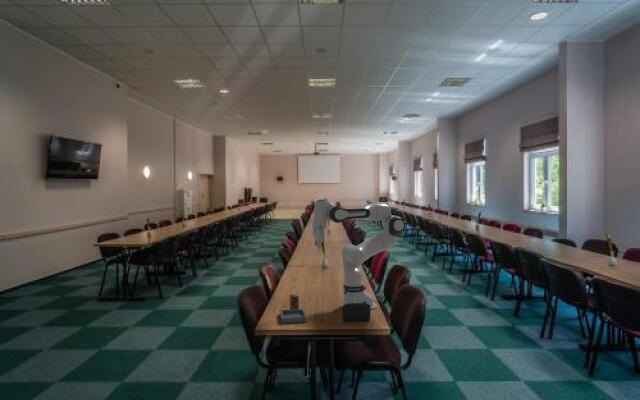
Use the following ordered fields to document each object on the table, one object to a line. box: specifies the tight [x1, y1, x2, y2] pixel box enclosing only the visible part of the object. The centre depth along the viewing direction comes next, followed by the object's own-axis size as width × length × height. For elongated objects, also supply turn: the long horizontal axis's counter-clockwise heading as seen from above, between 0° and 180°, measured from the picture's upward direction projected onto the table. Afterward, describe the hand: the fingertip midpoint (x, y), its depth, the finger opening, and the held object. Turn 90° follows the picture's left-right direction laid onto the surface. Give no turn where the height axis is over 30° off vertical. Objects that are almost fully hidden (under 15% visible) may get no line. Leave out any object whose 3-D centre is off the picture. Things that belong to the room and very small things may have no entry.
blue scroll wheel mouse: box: [341, 303, 372, 322], centre depth 208 cm, size 16×5×9 cm, turn 96°
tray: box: [279, 308, 308, 324], centre depth 210 cm, size 14×14×3 cm
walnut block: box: [289, 293, 300, 310], centre depth 222 cm, size 4×4×10 cm
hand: (317, 247), depth 227 cm, fingers open, 8 cm apart
